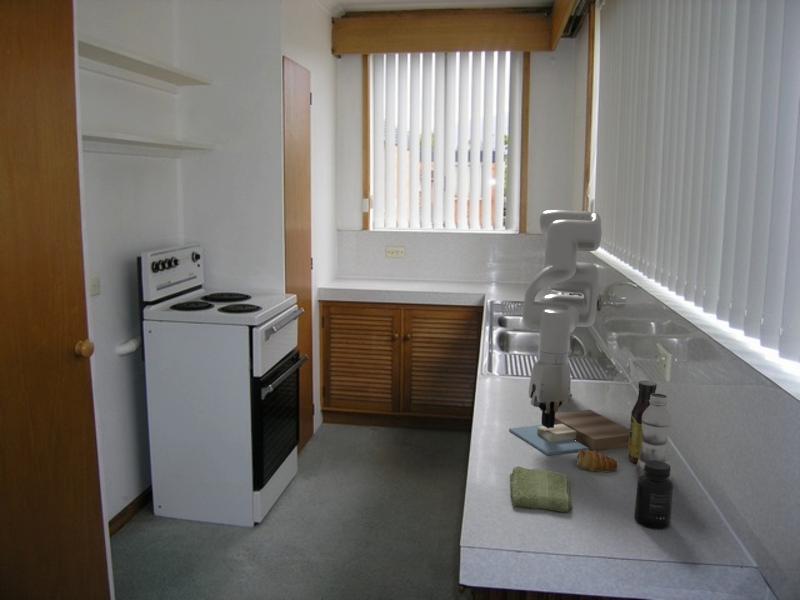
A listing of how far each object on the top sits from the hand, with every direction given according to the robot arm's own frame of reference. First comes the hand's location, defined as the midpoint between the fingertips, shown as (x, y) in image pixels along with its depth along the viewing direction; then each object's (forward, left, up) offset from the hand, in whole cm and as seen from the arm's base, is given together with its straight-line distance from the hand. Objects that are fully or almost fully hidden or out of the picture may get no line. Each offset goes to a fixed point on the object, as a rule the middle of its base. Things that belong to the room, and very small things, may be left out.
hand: (547, 426), depth 183 cm
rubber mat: (0, 0, -4) cm, 4 cm away
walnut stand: (0, +14, -4) cm, 15 cm away
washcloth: (+26, -20, -4) cm, 33 cm away
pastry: (+18, +1, -4) cm, 19 cm away
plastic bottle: (+29, +8, -4) cm, 30 cm away
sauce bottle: (+19, +14, -4) cm, 24 cm away
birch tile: (0, +3, -3) cm, 4 cm away
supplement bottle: (+45, -6, -4) cm, 46 cm away
